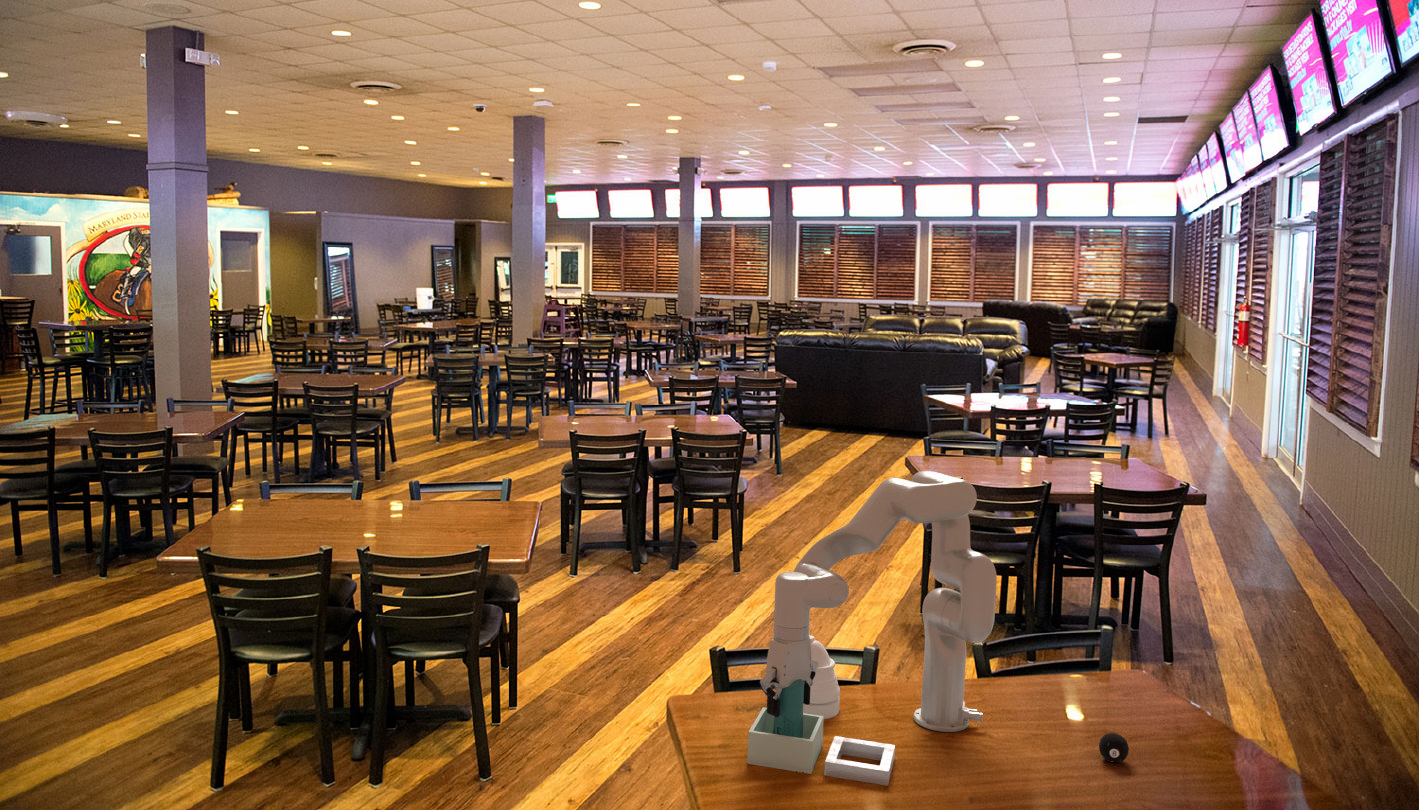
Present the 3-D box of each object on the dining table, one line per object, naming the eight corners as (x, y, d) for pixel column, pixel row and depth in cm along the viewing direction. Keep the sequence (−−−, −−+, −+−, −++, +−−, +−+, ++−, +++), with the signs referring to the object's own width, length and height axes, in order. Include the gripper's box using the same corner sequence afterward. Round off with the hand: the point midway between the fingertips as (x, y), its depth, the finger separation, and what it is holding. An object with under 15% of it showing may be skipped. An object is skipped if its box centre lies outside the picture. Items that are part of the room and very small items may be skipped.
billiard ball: (1126, 757, 225) (1128, 731, 224) (1128, 769, 219) (1130, 742, 218) (1097, 753, 227) (1099, 727, 226) (1098, 764, 221) (1100, 737, 220)
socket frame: (894, 758, 220) (895, 745, 220) (887, 785, 208) (888, 771, 207) (834, 749, 224) (834, 736, 223) (824, 775, 211) (825, 761, 211)
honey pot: (806, 723, 237) (809, 648, 235) (775, 703, 248) (777, 631, 246) (850, 713, 243) (853, 640, 241) (817, 694, 254) (821, 624, 252)
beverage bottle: (808, 750, 220) (812, 660, 218) (789, 760, 215) (793, 668, 213) (784, 740, 225) (788, 652, 222) (765, 750, 220) (769, 660, 218)
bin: (822, 746, 225) (823, 716, 224) (811, 774, 212) (812, 741, 211) (761, 737, 228) (763, 707, 228) (747, 763, 215) (748, 731, 214)
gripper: (804, 618, 226) (801, 693, 228) (750, 635, 214) (747, 714, 216) (831, 627, 220) (827, 703, 222) (777, 645, 208) (774, 725, 210)
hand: (788, 708), depth 219 cm, fingers open, 9 cm apart
